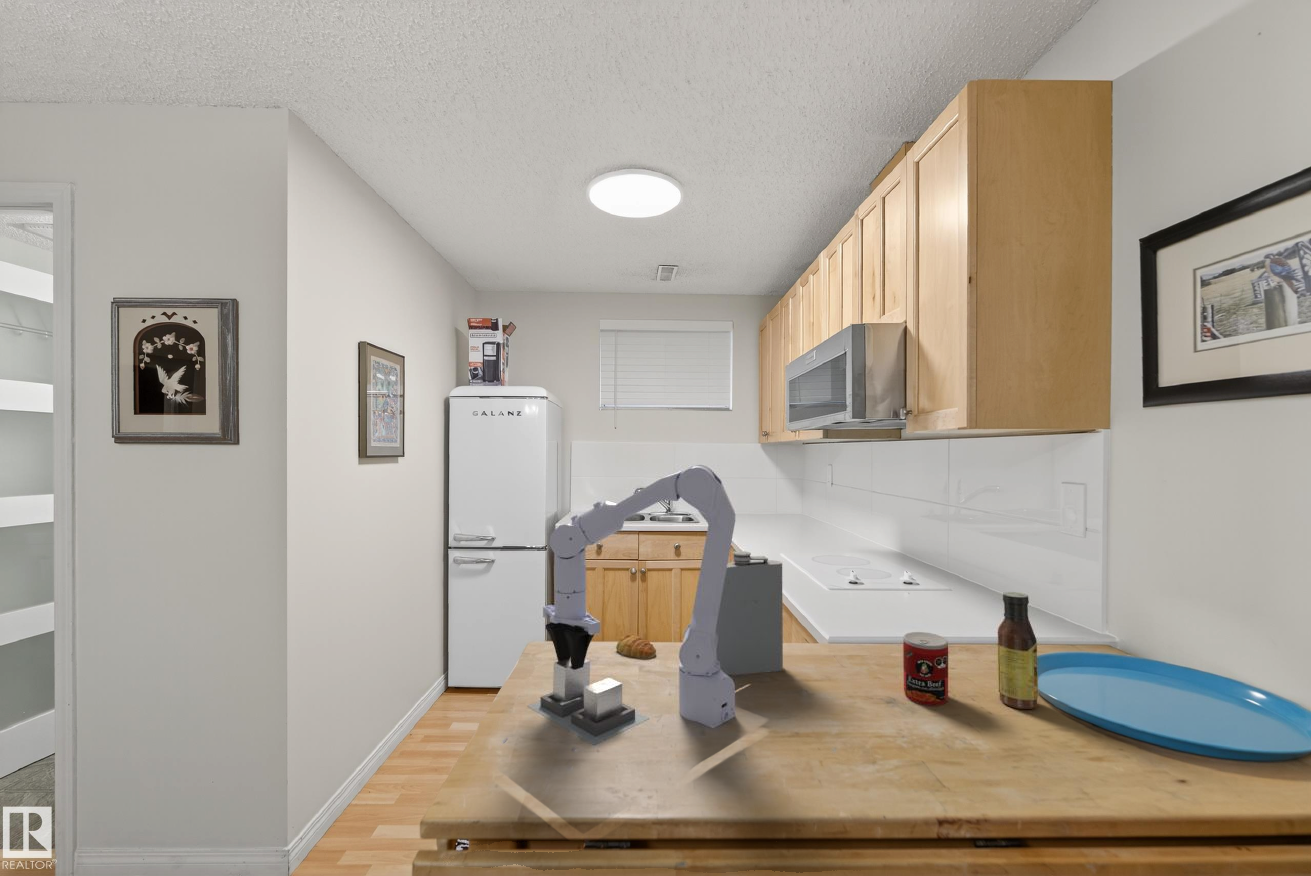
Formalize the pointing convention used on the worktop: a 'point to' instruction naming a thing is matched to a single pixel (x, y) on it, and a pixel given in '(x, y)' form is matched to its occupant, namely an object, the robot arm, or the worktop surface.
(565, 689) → the metal billet
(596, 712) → the block
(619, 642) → the pastry
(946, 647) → the canned food
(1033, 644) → the sauce bottle
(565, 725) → the pallet
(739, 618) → the flask
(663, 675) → the worktop surface
